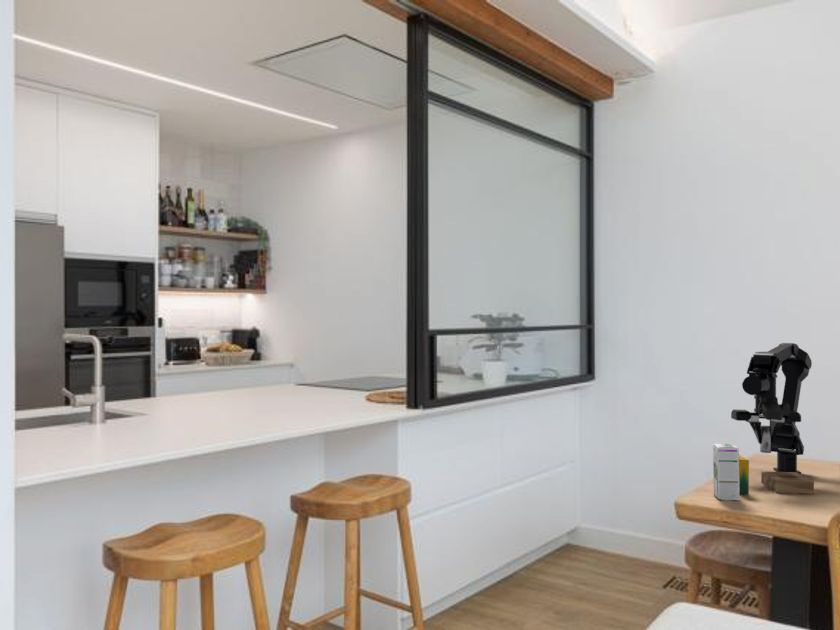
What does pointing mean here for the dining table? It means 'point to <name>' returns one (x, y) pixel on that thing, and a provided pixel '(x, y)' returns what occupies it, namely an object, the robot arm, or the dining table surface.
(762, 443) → the peg
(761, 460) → the dining table surface
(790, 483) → the hole block
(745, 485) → the crayon box
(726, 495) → the syrup box
